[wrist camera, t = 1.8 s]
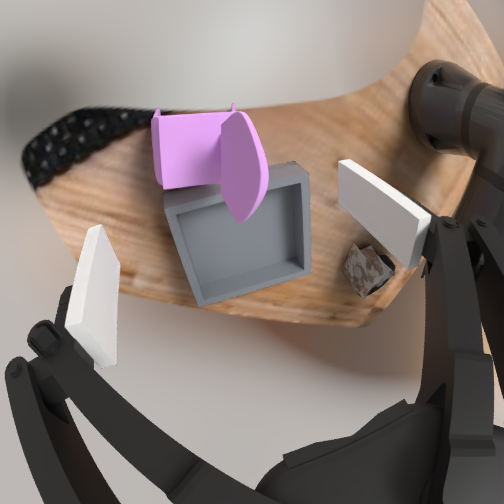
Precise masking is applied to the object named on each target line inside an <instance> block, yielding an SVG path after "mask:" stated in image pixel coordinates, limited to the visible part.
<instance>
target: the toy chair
mask: <svg viewBox="0 0 504 504" xmlns="http://www.w3.org/2000/svg"><path fill="white" fill-rule="evenodd" d="M151 131H152V146H153V159H154V170H155V176H156V179H157V182H158V183H159V184H160V185H163V189H172V188H180V187H187V186H196V185H206V184H221V196H222V198H223V199H224V201H225V203H226V205H227V206H228V208H229V210H230V212H231V214H232V215H233V217H234V219H235V220H236V221H237V222H238V223H243V222H244V221H246V220H247V219H248V218H249V217H250V216H251V215H252V214H253V213H254V212H255V210H256V209H257V208H258V206H259V205H260V203H261V202H262V200H263V198H264V196H265V194H266V191H267V187H268V181H269V171H268V165H267V161H266V157H265V154H264V151H263V148H262V145H261V142H260V140H259V137H258V135H257V132H256V130H255V128H254V126H253V124H252V122H251V120H250V118H249V117H248V115H247V114H246V113H244V112H236V111H235V103H233V104H232V111H231V112H216V113H200V114H184V115H170V116H160V108H157V109H156V111H155V114H154V116H153V118H152V120H151Z"/></svg>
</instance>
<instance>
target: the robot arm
mask: <svg viewBox="0 0 504 504" xmlns="http://www.w3.org/2000/svg"><path fill="white" fill-rule="evenodd" d="M409 114H410V121H411V125H412V128H413V131H414V133H415V135H416V137H417V138H418V140H419V141H420V142H421V143H422V144H423V145H424V146H426V147H428V148H430V149H432V150H434V151H436V152H439V153H444V154H453V155H462V156H468V157H471V158H472V159H474V160H476V163H475V166H474V168H473V172H472V173H471V176H470V178H469V181H468V183H467V186H466V188H465V191H464V193H463V196H462V198H461V200H460V203H459V205H458V207H457V209H456V211H455V214H454V216H453V218H451V217H448V216H442V217H438V216H436V215H435V214H434V213H433V212H431V211H430V210H429V209H427V208H426V207H425V206H423V205H421V203H419V202H418V201H416V200H415V199H414V198H412V197H411V196H409V195H407V194H405V193H403V192H400V191H397V190H396V189H394V188H393V187H392V186H390V185H389V184H387V183H386V182H384V181H383V180H381V179H380V178H378V177H377V176H375V175H374V174H372V173H371V172H369V171H368V170H366V169H364V168H363V167H361V166H360V165H358V164H357V163H355V162H353V161H352V160H350V159H347V160H342V161H338V204H339V205H340V206H341V207H343V208H344V209H345V210H346V211H347V212H348V213H349V214H350V215H351V216H352V217H353V218H355V219H356V220H357V221H358V222H359V223H360V224H361V225H362V226H363V227H364V228H365V229H366V230H367V231H368V232H369V233H370V234H372V235H373V236H374V237H375V238H376V239H377V240H378V241H379V242H380V243H381V244H382V245H383V246H384V247H385V248H386V249H387V250H388V251H389V252H390V253H391V254H392V255H393V256H394V257H395V258H396V259H397V260H398V261H399V262H400V263H401V264H402V265H403V266H404V267H405V268H406V269H407V270H409V269H412V268H414V267H416V266H419V263H420V260H421V256H422V255H423V256H424V257H425V258H426V259H427V260H426V263H425V266H424V269H423V273H422V276H421V278H423V277H424V275H425V287H426V317H425V342H424V357H423V369H422V379H421V386H420V391H419V393H418V396H417V398H416V401H415V403H414V404H407V402H406V401H405V399H403V400H402V401H400V402H398V403H397V404H395V405H393V406H391V407H389V408H388V409H386V410H384V411H382V412H380V413H378V414H377V415H376V416H375V417H374V418H373V419H372V420H370V421H369V422H368V423H367V424H366V425H365V426H363V427H362V428H361V429H360V430H359V431H357V432H356V433H355V434H354V435H352V436H349V437H344V438H339V439H334V440H328V441H323V442H316V443H313V444H311V445H308V446H306V447H303V448H300V449H298V450H295V451H292V452H289V453H287V454H283V459H284V460H283V461H281V462H280V463H278V464H277V465H276V466H274V467H273V468H272V469H270V470H269V471H268V472H267V474H265V475H264V477H263V478H262V479H261V481H260V482H259V484H258V485H257V487H256V489H255V490H253V489H251V488H249V487H247V486H245V485H244V484H242V483H240V482H238V481H237V480H235V479H233V478H232V477H230V476H228V475H226V474H225V473H223V472H222V471H220V470H218V469H217V468H215V467H214V466H212V465H210V464H209V463H207V462H206V461H204V460H203V459H201V458H200V457H198V456H196V455H195V454H194V453H192V452H191V451H189V450H188V449H186V448H185V447H184V446H182V445H181V444H179V443H178V442H177V441H175V440H174V439H173V438H171V437H170V436H169V435H167V434H166V433H165V432H163V431H162V430H161V429H159V428H158V427H157V426H156V425H154V424H153V423H152V422H151V421H150V420H148V419H147V418H146V417H145V416H144V415H142V414H141V413H140V412H139V411H138V410H137V409H135V408H134V407H133V406H132V405H131V404H130V403H128V402H127V401H126V400H125V399H124V398H123V397H122V396H121V395H120V394H118V393H117V392H116V391H115V390H114V389H113V388H112V387H111V386H110V385H109V384H108V383H107V382H106V381H105V380H104V379H103V378H102V377H101V376H100V375H99V374H98V373H97V372H96V371H95V370H94V362H95V363H96V364H97V365H98V366H99V367H100V368H106V367H111V366H115V365H117V355H116V354H117V351H116V348H117V342H116V341H117V307H118V290H119V276H120V263H119V261H118V259H117V257H116V255H115V253H114V251H113V248H112V246H111V244H110V242H109V240H108V238H107V236H106V233H105V231H104V229H103V227H102V224H100V225H97V226H94V227H91V228H89V229H88V232H87V235H86V238H85V242H84V245H83V249H82V252H81V256H80V259H79V263H78V267H77V271H76V275H75V279H74V283H73V285H71V286H68V287H66V288H65V290H64V292H63V293H62V295H61V297H60V301H59V307H58V310H57V314H56V318H55V323H54V324H53V323H52V322H51V321H50V320H43V321H40V322H38V323H37V324H36V325H34V327H33V328H32V329H31V330H30V333H29V334H28V338H27V342H28V345H29V347H31V349H32V350H33V351H34V352H35V353H36V354H37V355H38V357H36V358H34V359H33V360H31V361H29V362H27V361H26V360H25V359H24V358H23V357H16V358H14V359H12V361H10V362H9V364H8V365H7V367H6V371H5V381H6V386H7V392H8V397H9V401H10V406H11V410H12V414H13V418H14V422H15V425H16V429H17V432H18V436H19V439H20V442H21V446H22V449H23V452H24V455H25V458H26V460H27V463H28V465H29V468H30V471H31V474H32V476H33V479H34V481H35V484H36V486H37V488H38V490H39V493H40V495H41V497H42V499H43V502H44V504H121V503H120V502H119V501H118V499H117V498H116V496H115V495H114V493H113V491H112V490H111V488H110V487H109V485H108V483H107V482H106V480H105V479H104V477H103V475H102V474H101V472H100V470H99V469H98V467H97V465H96V463H95V462H94V460H93V458H92V456H91V454H90V452H89V451H88V449H87V447H86V445H85V443H84V441H83V439H82V437H81V435H80V433H79V431H78V429H77V427H76V424H75V422H74V420H73V418H72V416H71V413H70V411H69V409H68V407H67V404H66V402H65V399H67V398H68V397H70V399H71V400H72V401H73V402H74V404H75V405H76V406H77V408H78V409H79V410H80V411H81V412H82V413H83V415H84V416H85V417H86V418H87V419H88V420H89V422H90V423H91V424H92V425H93V426H94V427H95V428H96V429H97V430H98V431H99V433H100V434H101V435H102V436H103V437H104V438H105V439H106V440H107V441H108V442H109V443H110V444H111V445H112V446H113V447H114V448H115V449H116V450H117V451H118V452H119V453H120V454H121V455H122V456H123V457H124V458H125V459H126V460H127V461H128V462H129V463H131V464H132V465H133V466H134V467H135V468H136V469H137V470H138V471H140V472H141V473H142V474H143V475H144V476H145V477H146V478H148V479H149V480H150V481H151V482H152V483H154V484H155V485H156V486H157V487H158V488H160V489H161V490H162V491H163V492H164V493H165V494H166V496H167V498H168V499H169V500H170V501H171V502H172V503H173V504H504V428H503V427H500V426H496V425H493V419H494V417H493V416H494V372H493V361H494V365H495V369H496V373H497V377H498V381H499V385H500V388H501V392H502V396H503V399H504V89H502V88H500V87H497V86H494V85H491V84H488V83H485V82H482V81H481V80H480V79H478V78H477V77H475V76H474V75H472V74H471V73H469V72H468V71H466V70H465V69H463V68H462V67H460V66H459V65H457V64H455V63H452V62H448V61H443V60H433V61H431V62H429V63H427V64H426V65H424V66H423V67H422V68H421V69H420V71H419V72H418V74H417V75H416V77H415V79H414V82H413V85H412V88H411V92H410V99H409ZM481 323H482V326H483V329H484V332H485V335H486V338H487V341H488V344H489V347H490V351H491V354H492V356H491V355H490V354H485V353H484V351H483V338H482V328H481ZM492 358H493V360H492Z"/></svg>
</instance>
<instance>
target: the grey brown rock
mask: <svg viewBox="0 0 504 504" xmlns="http://www.w3.org/2000/svg"><path fill="white" fill-rule="evenodd" d="M342 271H343V273H344V274H345V275H346V277H347V278H348V279H349V281H350V282H351V285H352V287H353V288H354V289H355V291H356V292H357V293H358V294H359V296H361V297H362V298H363V299H365V298H366V296H367V295H370V294H372V293H373V292H375V291H377V290H378V289H379V288H380V287H382V286H383V285H384V284H385V283H386V282H387V281H388V280H389V279H390V277H392V276H394V275H395V273H394V271H395V265H394V263H393V262H392V261H391V260H390V259H389V258H388V256H386V255H380V256H378V255H377V254H376V253H375V251H374V249H373V247H372V246H368V247H366V248H363V249H361V250H359V248H358V247H357V246H356V245H355V244H354V243H353V245H352V247H351V249H350V252H349V254H348V256H347V259H346V261H345V263H344V265H343V268H342Z"/></svg>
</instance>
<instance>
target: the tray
mask: <svg viewBox="0 0 504 504" xmlns="http://www.w3.org/2000/svg"><path fill="white" fill-rule="evenodd" d="M268 171H269V181H268V187H267V191H266V194H265V196H264V198H263V200H262V202H261V203H260V205H259V206H258V208H257V209H256V210H255V212H254V213H253V214H252V215H251V216H250V217H249V218H248V219H247V220H246V221H244V222H243V223H238V222H237V221H236V220H235V219H234V217H233V215H232V214H231V212H230V210H229V208H228V206H227V205H226V203H225V201H224V199H223V198H222V196H221V184H206V185H196V186H188V187H184V188H181V189H177V190H174V191H170V192H167V193H163V203H164V211H165V214H166V217H167V221H168V224H169V227H170V230H171V233H172V236H173V239H174V241H175V244H176V247H177V250H178V253H179V256H180V259H181V262H182V264H183V267H184V270H185V273H186V275H187V278H188V281H189V284H190V286H191V289H192V292H193V294H194V297H195V300H196V302H197V305H198V307H202V306H205V305H209V304H212V303H216V302H219V301H223V300H226V299H229V298H233V297H236V296H240V295H243V294H246V293H250V292H253V291H256V290H259V289H263V288H266V287H269V286H272V285H276V284H279V283H282V282H285V281H288V280H292V279H295V278H298V277H301V276H304V275H307V274H310V273H311V220H310V189H309V172H307V171H306V170H305V169H304V168H302V167H301V166H300V165H299V164H297V163H296V162H295V161H292V162H287V163H283V164H278V165H273V166H269V167H268Z"/></svg>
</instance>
